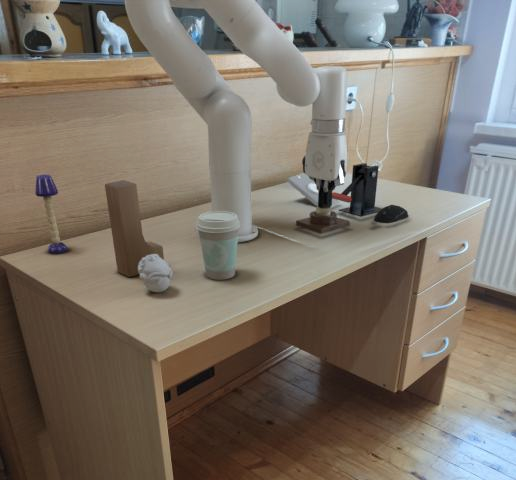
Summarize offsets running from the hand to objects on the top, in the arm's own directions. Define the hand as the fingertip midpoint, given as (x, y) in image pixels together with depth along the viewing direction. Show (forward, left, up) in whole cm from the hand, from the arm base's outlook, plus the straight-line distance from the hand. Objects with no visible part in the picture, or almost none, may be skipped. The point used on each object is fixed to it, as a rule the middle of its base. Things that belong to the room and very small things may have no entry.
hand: (324, 206), depth 131 cm
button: (0, 0, -2) cm, 2 cm away
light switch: (+14, +18, -6) cm, 24 cm away
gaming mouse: (+17, -6, -6) cm, 19 cm away
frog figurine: (-51, -7, -6) cm, 52 cm away
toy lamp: (-57, +28, -6) cm, 64 cm away
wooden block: (-48, +5, -6) cm, 49 cm away
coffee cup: (-37, -8, -6) cm, 39 cm away
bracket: (+18, +3, -6) cm, 19 cm away
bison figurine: (+32, +35, -6) cm, 48 cm away
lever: (+14, +3, +2) cm, 15 cm away
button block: (0, 0, -6) cm, 6 cm away
